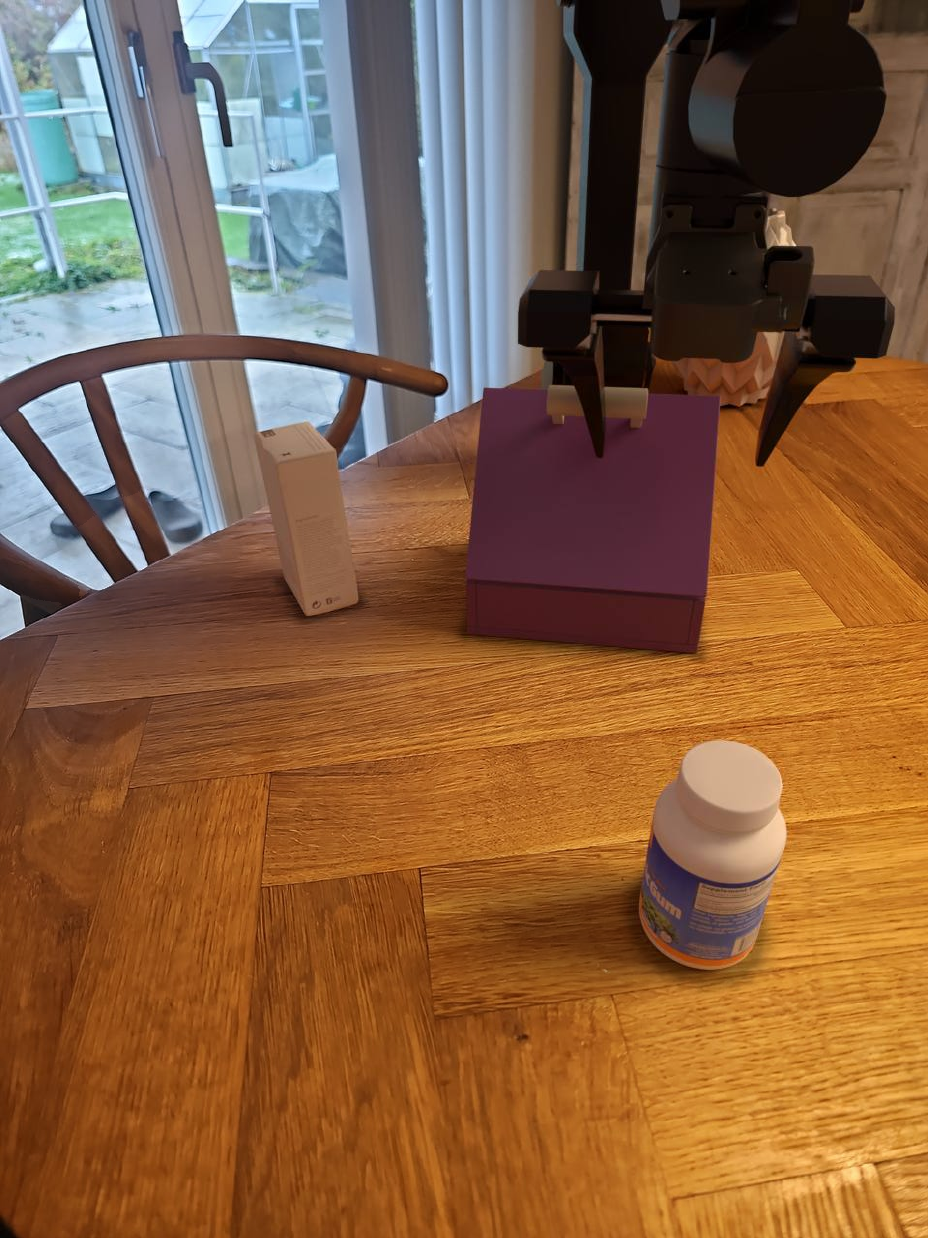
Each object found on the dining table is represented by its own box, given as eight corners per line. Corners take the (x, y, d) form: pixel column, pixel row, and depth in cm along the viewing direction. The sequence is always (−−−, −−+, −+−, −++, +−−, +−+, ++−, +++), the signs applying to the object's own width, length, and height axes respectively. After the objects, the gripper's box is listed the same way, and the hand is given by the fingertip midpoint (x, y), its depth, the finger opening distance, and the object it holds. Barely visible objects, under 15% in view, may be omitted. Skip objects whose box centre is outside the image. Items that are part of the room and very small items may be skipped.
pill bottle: (625, 878, 41) (644, 731, 36) (733, 869, 42) (769, 721, 36) (655, 981, 37) (682, 831, 31) (776, 969, 37) (824, 818, 32)
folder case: (494, 544, 68) (493, 497, 66) (690, 557, 66) (697, 509, 63) (467, 634, 58) (465, 583, 56) (696, 654, 56) (705, 601, 53)
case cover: (484, 389, 57) (474, 360, 52) (719, 398, 55) (731, 368, 50) (465, 579, 56) (453, 567, 51) (705, 597, 53) (716, 586, 49)
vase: (632, 374, 100) (647, 201, 89) (766, 365, 101) (797, 194, 90) (675, 427, 87) (699, 232, 76) (829, 416, 88) (873, 222, 77)
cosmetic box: (361, 603, 62) (343, 448, 55) (302, 620, 60) (275, 463, 53) (334, 565, 66) (314, 417, 59) (278, 579, 65) (251, 430, 58)
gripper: (500, 190, 37) (501, 512, 46) (968, 190, 33) (870, 537, 42) (533, 157, 46) (529, 431, 55) (905, 154, 42) (835, 447, 51)
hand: (678, 459), depth 50 cm, fingers open, 9 cm apart
